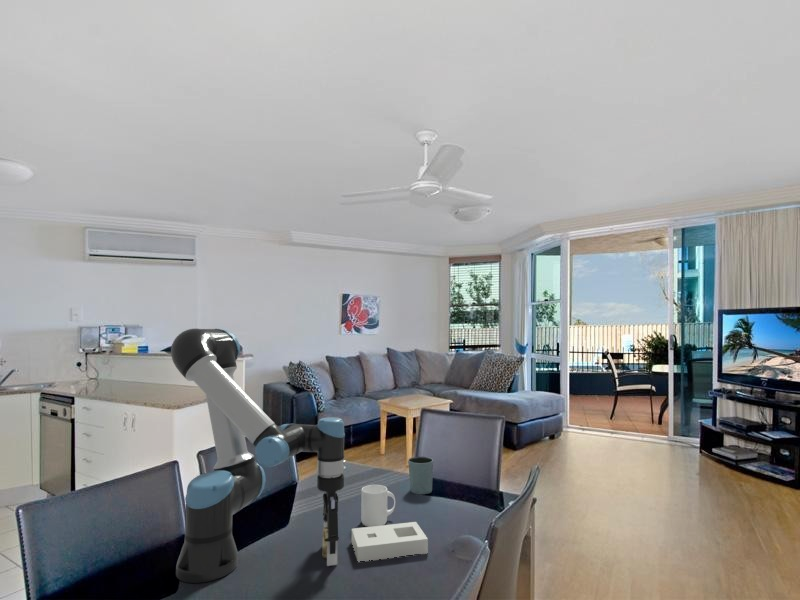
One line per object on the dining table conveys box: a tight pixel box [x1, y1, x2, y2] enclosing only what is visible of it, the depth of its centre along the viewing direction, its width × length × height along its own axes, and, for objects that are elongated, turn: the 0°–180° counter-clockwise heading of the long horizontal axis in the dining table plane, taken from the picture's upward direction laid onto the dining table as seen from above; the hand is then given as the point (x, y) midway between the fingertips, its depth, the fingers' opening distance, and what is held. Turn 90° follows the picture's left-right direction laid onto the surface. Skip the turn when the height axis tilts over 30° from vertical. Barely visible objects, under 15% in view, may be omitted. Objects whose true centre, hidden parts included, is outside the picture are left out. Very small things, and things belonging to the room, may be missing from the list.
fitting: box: [321, 527, 328, 560], centre depth 125 cm, size 4×4×7 cm
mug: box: [360, 484, 396, 527], centre depth 148 cm, size 9×12×11 cm
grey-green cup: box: [407, 456, 434, 495], centre depth 177 cm, size 10×10×12 cm
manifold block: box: [351, 521, 429, 563], centre depth 129 cm, size 20×12×4 cm, turn 104°
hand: (329, 554), depth 125 cm, fingers open, 11 cm apart
